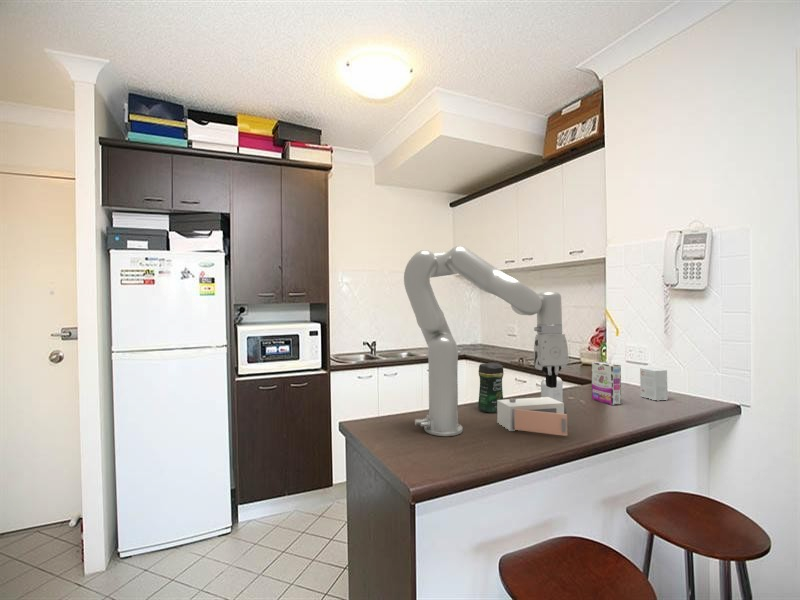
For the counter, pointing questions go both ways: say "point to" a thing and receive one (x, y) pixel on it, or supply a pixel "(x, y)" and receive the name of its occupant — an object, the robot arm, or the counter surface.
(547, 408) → the white box
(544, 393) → the white rounded block
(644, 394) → the small box
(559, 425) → the side door
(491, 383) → the coffee jar
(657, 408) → the counter surface
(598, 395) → the candy bar box
